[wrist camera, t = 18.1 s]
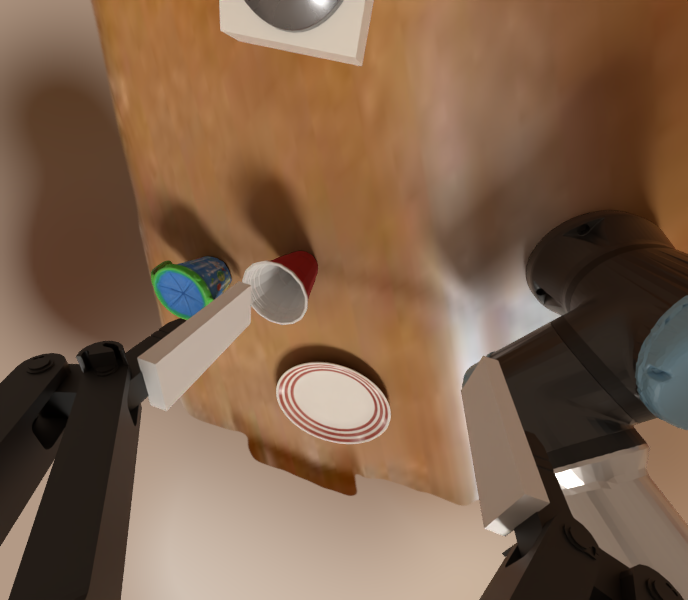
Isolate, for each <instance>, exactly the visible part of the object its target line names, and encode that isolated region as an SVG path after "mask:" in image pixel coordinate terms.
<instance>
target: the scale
mask: <svg viewBox="0 0 688 600" xmlns="http://www.w3.org/2000/svg"><path fill="white" fill-rule="evenodd" d="M373 2H374V0H344V1H343V2H342V4H341V5H340V7H339V8H338V9H337V10H336V12H335V13H334V14H333V15H332V16H331V17H330V18H329V19H328V20H326V21H325V22H324V23H322V24H321V25H319V26H318V27H315V28H313V29H311V30H308V31H305V32H297V33H292V32H285V31H282V30H278V29H276V28H274V27H272V26H271V25H269V24H268V23H266V22H265V21H264V20H262V19H261V18H260V17H259V16H258V15H257V14H255V13H254V12H253V11H252V10H251V8H250V7H249V6H248V5H247V3H246V2H245V1H244V0H219V3H220V30H221V31H222V32H224V33H226V34H228V35H229V36H231V37H233V38H234V39H236V40H238V41H241V42H246V43H251V44H255V45H260V46H265V47H270V48H275V49H280V50H285V51H290V52H294V53H299V54H304V55H309V56H314V57H319V58H324V59H329V60H333V61H338V62H343V63H348V64H353V65H358V66H362V64H363V58H364V52H365V47H366V41H367V35H368V30H369V24H370V19H371V13H372V7H373Z"/></svg>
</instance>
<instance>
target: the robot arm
mask: <svg viewBox="0 0 688 600" xmlns="http://www.w3.org/2000/svg"><path fill="white" fill-rule="evenodd" d="M526 278H527V283H528V286H529V288H530V290H531V292H532V293H533V294H534V296H535V297H536V298H537V300H538V301H539V302H540V303H541V304H542V305H544V306H545V307H546V308H548V309H549V310H551V311H553V312H555V313H557V314H560V315H562V316H561V317H559V318H557V319H555V320H553V321H551V322H549V323H547V324H545V325H544V326H542V327H540V328H538V329H536V330H535V331H533V332H531V333H529V334H527V335H526V336H524V337H522V338H520V339H518V340H516V341H515V342H513V343H511V344H509V345H507V346H505V347H504V348H502V349H500V350H498V351H496V352H495V351H494V352H491V353H490V354H488V355H487V356H486V357H485V356H483V357H482V359H481V360H480V361H479V362H478V363H476V364H474V365H473V366H471V367H470V368H469V369H468V370H467V371H466V373H465V375H464V379H463V384H462V390H461V393H462V399H463V405H464V411H465V417H466V423H467V429H468V435H469V441H470V447H471V453H472V459H473V465H474V471H475V477H476V482H477V488H478V494H479V500H480V506H481V512H482V517H483V524H484V529H487V530H489V531H492V532H495V533H498V534H500V535H503V536H506V535H508V534H509V533H511V532H512V531H513V530H514V531H515V535H516V539H517V543H516V544H514V545H513V546H512V547H510V548H509V549H508V550H506V551H505V552H503V553H502V554H503V555H504V556H506V558H505V559H504V561H503V563H502V564H501V566H500V567H499V569H498V571H497V572H496V574H495V575H494V577H493V579H492V580H491V582H490V583H489V585H488V587H487V588H486V590H485V591H484V593H483V595H482V596H481V598H480V600H688V525H687V524H686V522H685V521H684V520H683V518H682V517H681V516H680V515H679V513H678V512H677V511H676V509H675V508H674V507H673V506H672V504H671V503H670V502H669V501H668V499H667V498H666V497H665V496H664V494H663V493H662V492H661V490H660V489H659V488H658V487H657V485H656V484H655V483H654V481H653V480H652V479H651V478H650V476H649V474H648V472H647V469H646V468H647V462H648V456H649V450H650V447H649V446H648V444H647V443H646V442H645V440H644V439H643V438H642V437H641V436H640V434H639V433H638V432H637V431H636V429H635V428H634V425H636V424H638V423H641V422H645V421H648V420H651V419H655V418H659V419H661V420H664V421H666V422H667V423H669V424H671V425H673V426H676V427H678V428H681V429H685V430H688V254H686V253H684V252H681V251H679V250H676V249H675V247H674V246H673V245H672V243H671V242H670V241H669V239H668V238H667V237H666V235H665V234H664V233H663V231H662V230H661V229H660V228H659V227H658V226H656V225H655V224H654V223H652V222H650V221H649V220H647V219H645V218H642V217H639V216H636V215H633V214H630V213H627V212H622V211H597V212H591V213H587V214H584V215H580V216H578V217H575V218H573V219H570V220H568V221H566V222H564V223H563V224H561V225H559V226H558V227H556V228H555V229H553V230H552V231H551V232H549V233H548V234H547V235H546V236H545V237H544V238H543V239H542V240H541V241H540V242H539V243H538V245H537V246H536V247H535V249H534V250H533V252H532V254H531V256H530V258H529V261H528V264H527V270H526ZM250 323H251V285H249V284H246V283H242V282H237V283H236V284H235V285H233V286H232V287H231V288H229V289H228V290H227V291H225V292H224V293H223V294H221V295H220V296H219V297H217V298H216V299H215V300H213V301H212V302H211V303H209V304H208V305H207V306H205V307H204V308H203V309H201V310H200V311H199V312H197V313H196V314H195V315H193V316H192V317H191V318H189V319H188V320H184V319H181V318H180V319H177V320H174V321H172V322H169V323H167V324H166V325H164V326H163V327H162V328H160V329H159V331H156V332H155V333H153V334H152V335H151V336H149V337H147V338H146V339H145V340H143V341H142V342H140V343H139V344H138V345H136V346H135V347H133V348H132V349H130V350H129V351H128V352H126V353H125V351H124V348H123V345H121V344H120V343H119V342H114V341H103V342H98V343H94V344H92V345H89V346H87V347H85V348H84V349H82V350H81V351H80V352H79V353H78V355H77V356H76V358H77V360H78V362H79V364H68V363H67V361H66V359H65V357H64V356H62V355H60V354H54V353H50V354H42V355H39V356H35V357H33V358H30V359H28V360H26V361H24V362H23V363H21V364H20V365H18V366H17V367H16V368H15V369H14V370H13V371H12V372H11V373H10V374H9V375H8V376H7V377H6V378H5V379H4V380H3V381H2V382H1V383H0V546H1V544H2V543H3V541H4V540H5V538H6V536H7V535H8V533H9V531H10V530H11V528H12V527H13V525H14V523H15V522H16V520H17V519H18V517H19V515H20V514H21V512H22V511H23V509H24V507H25V506H26V504H27V503H28V501H29V499H30V498H31V496H32V495H33V493H34V491H35V490H36V488H37V487H38V485H39V483H40V481H41V480H42V478H43V477H44V475H45V474H46V472H47V470H48V469H49V467H50V466H51V464H52V462H53V461H54V463H53V466H52V469H51V472H50V475H49V478H48V481H47V484H46V487H45V490H44V493H43V496H42V500H41V503H40V505H39V509H38V511H37V515H36V517H35V521H34V524H33V527H32V530H31V533H30V536H29V539H28V542H27V545H26V548H25V551H24V554H23V557H22V560H21V563H20V566H19V569H18V572H17V575H16V578H15V581H14V584H13V587H12V590H11V593H10V596H9V599H8V600H121V591H122V582H123V573H124V564H125V554H126V545H127V537H128V527H129V519H130V510H131V501H132V492H133V483H134V473H135V464H136V454H137V446H138V437H139V428H140V419H141V410H142V407H141V402H142V401H143V400H144V399H146V398H147V397H148V398H149V401H150V405H151V406H154V407H157V408H160V409H162V410H165V411H167V410H168V409H169V408H170V407H171V406H172V405H173V404H174V403H175V402H176V401H177V400H178V399H179V398H180V397H181V396H182V395H183V394H184V393H185V392H186V390H187V389H188V388H189V387H190V386H191V385H192V384H193V383H194V382H195V381H196V380H197V379H198V378H199V377H200V376H201V375H202V374H203V373H204V372H205V371H206V369H207V368H208V367H209V366H210V365H211V364H212V363H213V362H214V361H215V360H216V359H217V358H218V357H219V356H220V355H221V354H222V353H223V352H224V351H225V350H226V348H227V347H228V346H229V345H230V344H231V343H232V342H233V341H234V340H235V339H236V338H237V337H238V336H239V335H240V334H241V333H242V332H243V331H244V330H245V329H246V327H247V326H248V325H249V324H250ZM54 459H55V460H54Z"/></svg>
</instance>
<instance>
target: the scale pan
mask: <svg viewBox="0 0 688 600" xmlns="http://www.w3.org/2000/svg"><path fill="white" fill-rule="evenodd" d="M244 1H245V2H246V3H247V5H248V6H249V7H250V8H251V10H252V11H253V12H254V13H255V14H257V15H258V16H259V17H260V18H261V19H262V20H264V21H265V22H266V23H268V24H269V25H271V26H272V27H274V28H276V29H278V30H282V31H285V32H292V33H297V32H305V31H308V30H311V29H313V28H315V27H318V26H319V25H321V24H322V23H324V22H325V21H326V20H328V19H329V18H330V17H331V16H332V15H333V14H334V13H335V12H336V10H337V9H338V8H339V7H340V5H341V4H342V2H343V1H344V0H244Z"/></svg>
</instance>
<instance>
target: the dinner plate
mask: <svg viewBox="0 0 688 600" xmlns="http://www.w3.org/2000/svg"><path fill="white" fill-rule="evenodd" d="M276 396H277V400H278V403H279V405H280V408H281V409H282V411H283V412H284V414H285V415H286V416H287V417H288V419H289V420H290V421H291V422H293V423H294V424H295V425H296V426H298V427H299V428H300V429H302V430H303V431H305V432H307V433H309V434H311V435H313V436H315V437H317V438H320V439H323V440H326V441H330V442H334V443H341V444H358V443H364V442H368V441H371V440H373V439H375V438H377V437H378V436H380V435H381V434H382V433H383V432H384V431H385V430H386V429H387V427H388V425H389V422H390V418H391V410H390V406H389V403H388V401H387V399H386V397H385V395H384V394H383V393H382V391H381V390H380V389H379V388H378V387H377V386H376V385H375V384H374V383H373V382H372V381H371V380H369V379H368V378H367V377H365V376H364V375H362V374H360V373H358V372H356V371H354V370H352V369H350V368H347V367H345V366H342V365H338V364H334V363H328V362H308V363H303V364H299V365H296V366H294V367H292V368H290V369H288V370H287V371H286V372H284V373H283V375H282V376H281V377H280V379H279V381H278V383H277V387H276Z"/></svg>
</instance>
